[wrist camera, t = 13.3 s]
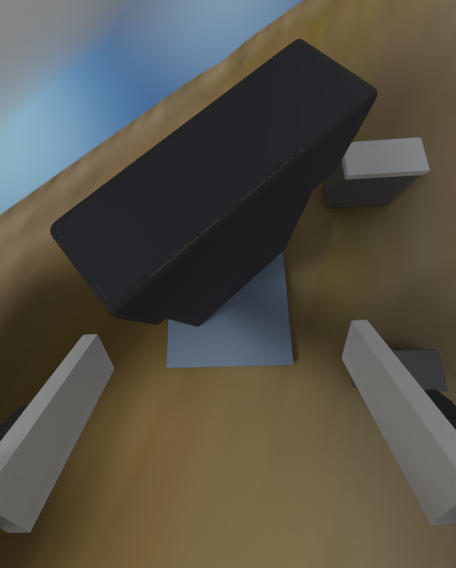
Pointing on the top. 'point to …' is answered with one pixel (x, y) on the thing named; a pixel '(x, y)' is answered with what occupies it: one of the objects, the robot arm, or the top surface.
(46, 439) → the robot arm
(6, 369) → the top surface
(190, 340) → the rubber mat
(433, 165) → the top surface
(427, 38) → the top surface
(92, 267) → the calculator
